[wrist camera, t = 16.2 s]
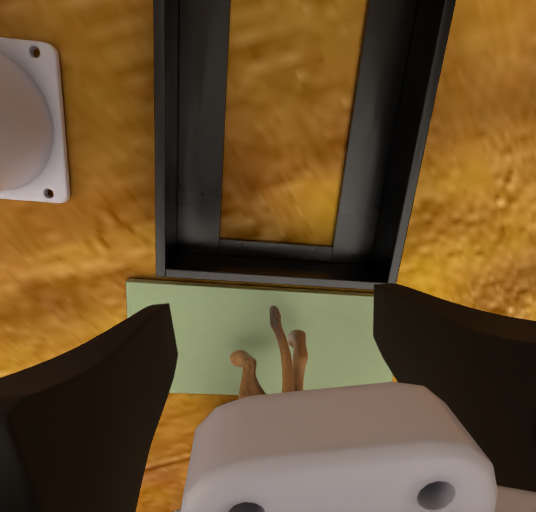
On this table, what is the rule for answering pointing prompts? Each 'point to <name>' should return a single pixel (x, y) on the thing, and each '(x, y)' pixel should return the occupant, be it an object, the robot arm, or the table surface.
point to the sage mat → (263, 334)
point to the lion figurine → (290, 367)
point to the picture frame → (356, 158)
